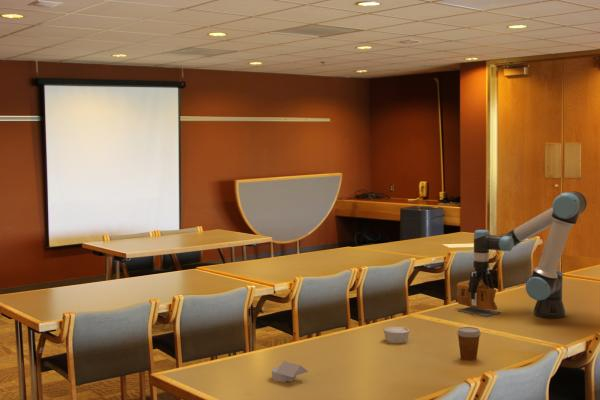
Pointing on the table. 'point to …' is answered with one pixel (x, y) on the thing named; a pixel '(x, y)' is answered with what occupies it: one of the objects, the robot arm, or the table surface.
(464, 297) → the coffee package
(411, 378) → the table surface
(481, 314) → the mat
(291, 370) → the grey angular block
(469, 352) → the disposable coffee cup
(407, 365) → the table surface
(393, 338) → the ramekin
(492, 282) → the robot arm
